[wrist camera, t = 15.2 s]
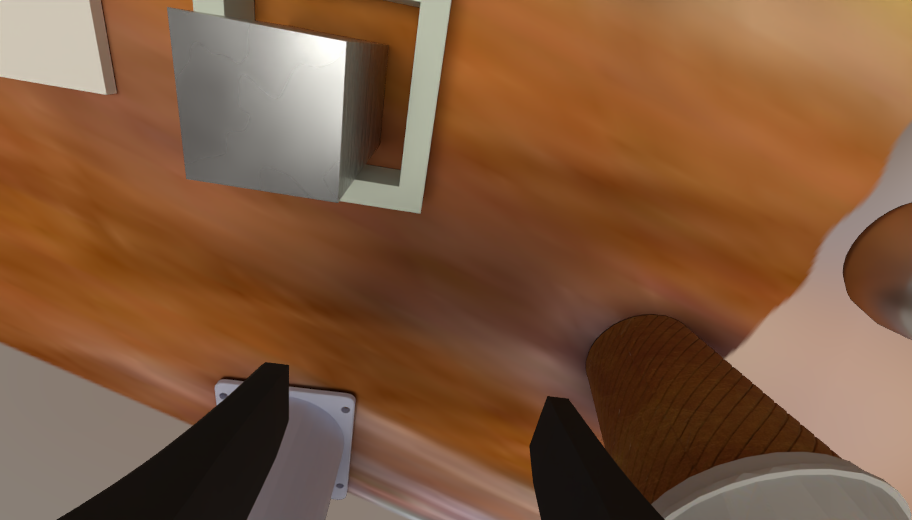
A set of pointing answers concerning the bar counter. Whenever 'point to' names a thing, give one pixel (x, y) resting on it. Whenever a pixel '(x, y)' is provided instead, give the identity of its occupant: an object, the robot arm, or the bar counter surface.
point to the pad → (56, 44)
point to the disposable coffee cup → (716, 436)
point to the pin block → (275, 104)
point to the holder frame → (408, 182)
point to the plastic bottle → (883, 271)
